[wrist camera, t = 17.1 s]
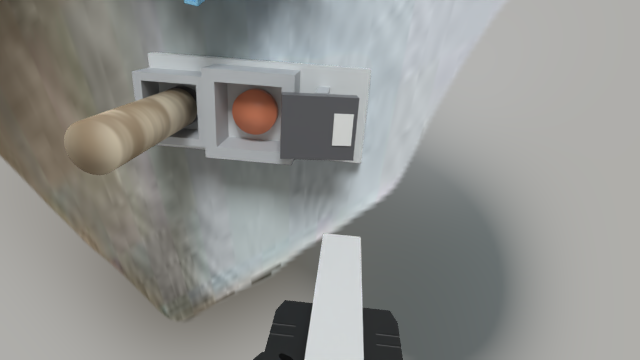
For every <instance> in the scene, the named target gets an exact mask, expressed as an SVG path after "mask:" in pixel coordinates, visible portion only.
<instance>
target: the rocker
mask: <svg viewBox="0 0 640 360" xmlns="http://www.w3.org/2000/svg"><path fill="white" fill-rule="evenodd" d="M359 99H360V98H359V97H358V96H357V95H338V94H316V93H295V92H282V95H281V133H280V159H307V160H350V161H353V157H354V147H355V137H356V128H357V118H358V108H359Z"/></svg>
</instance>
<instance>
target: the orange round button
mask: <svg viewBox="0 0 640 360" xmlns="http://www.w3.org/2000/svg"><path fill="white" fill-rule="evenodd" d="M232 115H233V119H234V121H235V123H236V124H237V126H238V127H239V128H240V129H241V130H243V131H244V132H246V133H249V134H253V135H259V134H263V133H265V132H267V131H268V130H270V128H271V127H272V126H273V125H274V124H275V122H276V120H277V118H278V105H277V103H276V101H275V99H274V98H273V96H272V95H271V94H270V93H268V92H267V91H265V90H262V89H257V88H254V89H249V90H247V91H245V92H243V93H242V94H240V95H239V96H238V97H237V98H236V99H235V101H234V103H233V107H232Z"/></svg>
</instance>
